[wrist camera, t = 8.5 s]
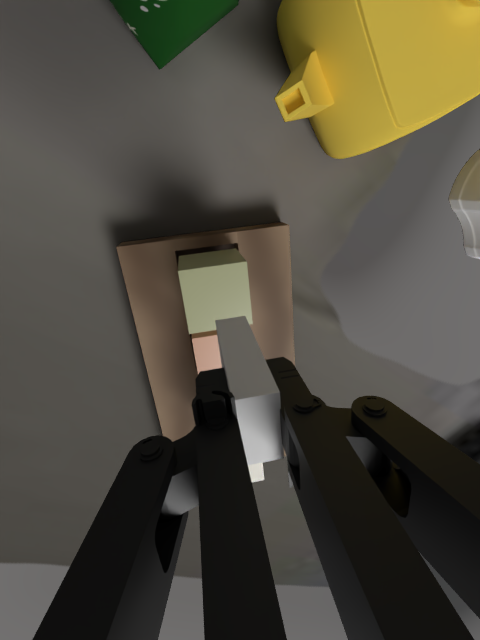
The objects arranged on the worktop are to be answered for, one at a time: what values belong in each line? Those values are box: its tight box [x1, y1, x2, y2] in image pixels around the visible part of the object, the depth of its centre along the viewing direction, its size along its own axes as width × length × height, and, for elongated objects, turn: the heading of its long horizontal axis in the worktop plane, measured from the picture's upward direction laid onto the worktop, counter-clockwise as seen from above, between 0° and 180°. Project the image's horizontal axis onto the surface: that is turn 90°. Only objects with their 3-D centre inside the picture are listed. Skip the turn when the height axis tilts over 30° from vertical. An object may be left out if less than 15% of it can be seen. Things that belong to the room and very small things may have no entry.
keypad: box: [116, 222, 295, 456], centre depth 32 cm, size 14×25×2 cm, turn 6°
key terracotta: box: [192, 330, 222, 374], centre depth 29 cm, size 5×5×5 cm
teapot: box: [274, 0, 480, 159], centre depth 20 cm, size 20×12×12 cm, turn 120°
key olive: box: [178, 248, 253, 334], centre depth 25 cm, size 5×5×5 cm
